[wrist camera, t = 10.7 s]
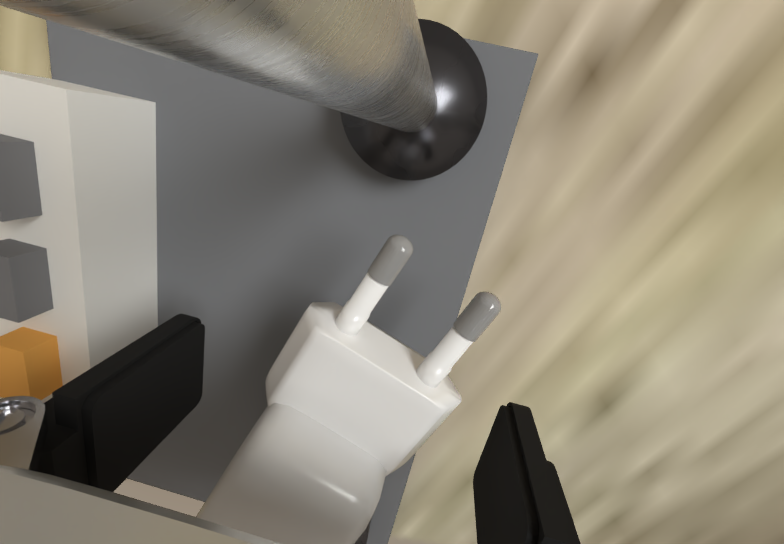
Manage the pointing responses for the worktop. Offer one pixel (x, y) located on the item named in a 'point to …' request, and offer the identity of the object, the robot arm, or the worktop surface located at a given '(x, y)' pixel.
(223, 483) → the power adapter
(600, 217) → the worktop surface
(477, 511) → the robot arm
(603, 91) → the worktop surface
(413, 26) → the cord post
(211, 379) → the mat
